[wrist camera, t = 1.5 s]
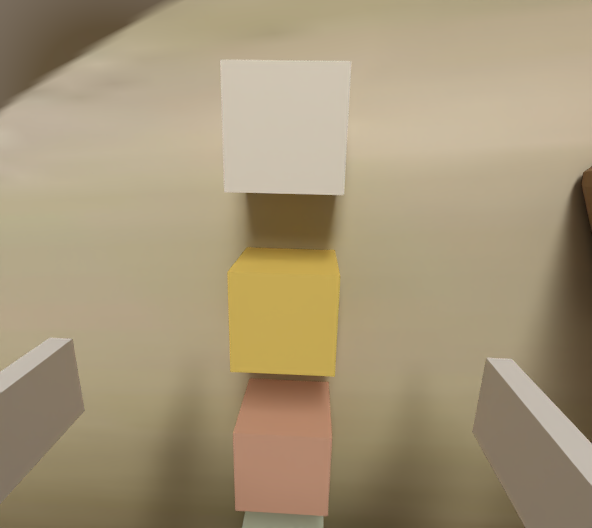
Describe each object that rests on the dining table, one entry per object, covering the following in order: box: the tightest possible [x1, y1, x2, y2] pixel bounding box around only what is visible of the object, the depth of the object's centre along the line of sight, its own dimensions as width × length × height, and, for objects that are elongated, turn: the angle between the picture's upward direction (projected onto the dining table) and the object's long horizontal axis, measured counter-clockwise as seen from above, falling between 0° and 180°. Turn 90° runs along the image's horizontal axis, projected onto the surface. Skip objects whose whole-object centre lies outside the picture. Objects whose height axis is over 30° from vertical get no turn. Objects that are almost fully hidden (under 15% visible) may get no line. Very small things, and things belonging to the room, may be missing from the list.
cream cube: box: [220, 60, 351, 195], centre depth 17 cm, size 5×5×5 cm
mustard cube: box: [227, 247, 340, 376], centre depth 20 cm, size 5×5×5 cm
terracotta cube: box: [233, 378, 332, 516], centre depth 22 cm, size 5×5×5 cm
